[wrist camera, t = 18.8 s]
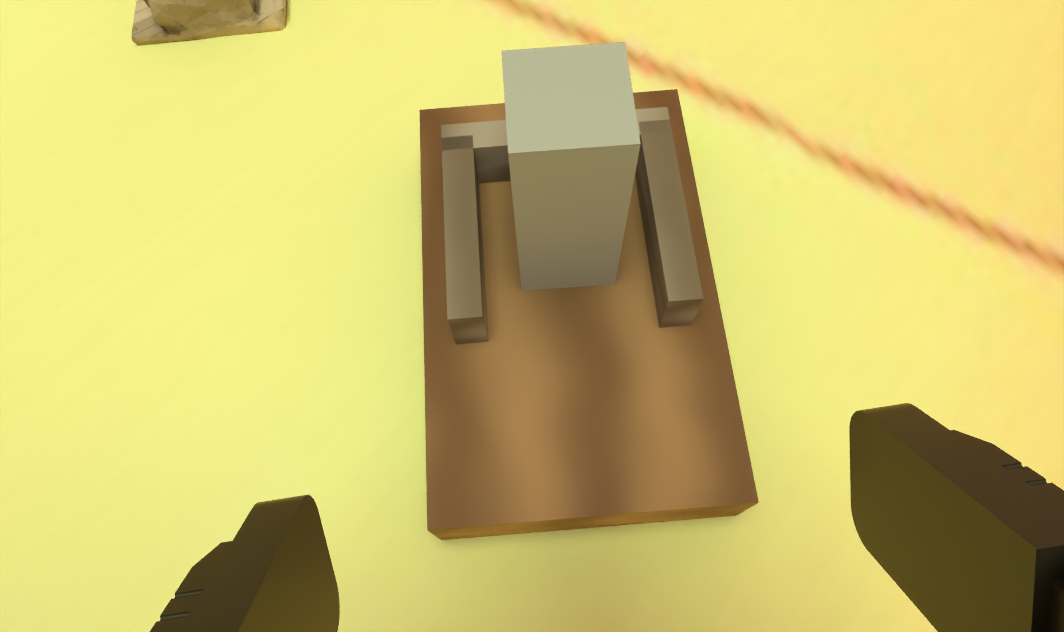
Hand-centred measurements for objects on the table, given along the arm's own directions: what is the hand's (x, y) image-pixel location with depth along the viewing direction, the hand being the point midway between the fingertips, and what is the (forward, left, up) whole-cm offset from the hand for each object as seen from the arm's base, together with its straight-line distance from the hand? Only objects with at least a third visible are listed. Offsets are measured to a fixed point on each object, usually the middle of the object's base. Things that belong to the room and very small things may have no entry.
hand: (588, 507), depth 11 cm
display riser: (+1, +13, -24) cm, 28 cm away
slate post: (+1, +15, -20) cm, 25 cm away
